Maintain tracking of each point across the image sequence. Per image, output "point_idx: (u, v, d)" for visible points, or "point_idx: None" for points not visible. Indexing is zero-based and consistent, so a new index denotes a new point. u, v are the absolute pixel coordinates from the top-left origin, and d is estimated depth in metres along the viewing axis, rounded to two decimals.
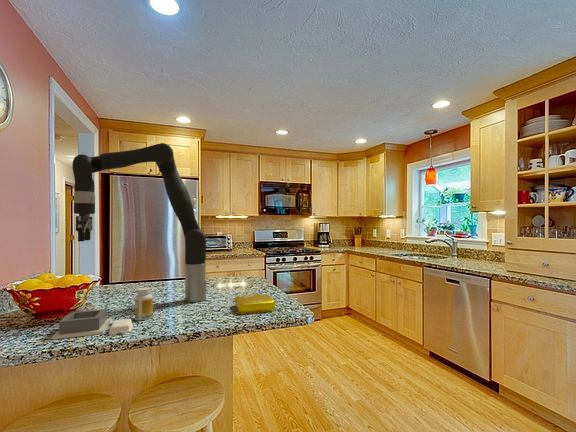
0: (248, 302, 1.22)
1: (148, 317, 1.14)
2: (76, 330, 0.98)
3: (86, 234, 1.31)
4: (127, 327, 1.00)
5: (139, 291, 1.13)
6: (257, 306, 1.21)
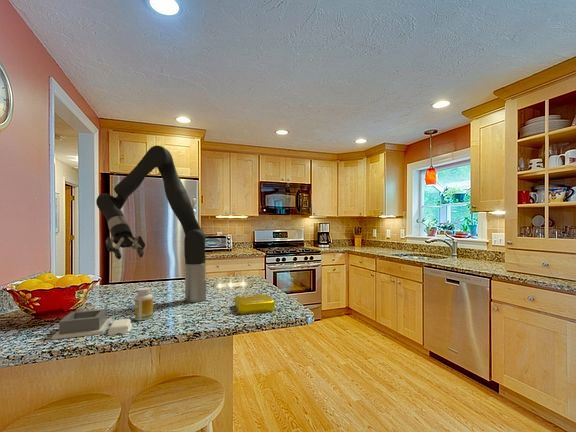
0: (248, 302, 1.22)
1: (148, 317, 1.14)
2: (76, 330, 0.98)
3: (138, 252, 1.28)
4: (126, 327, 1.00)
5: (139, 291, 1.13)
6: (257, 306, 1.21)
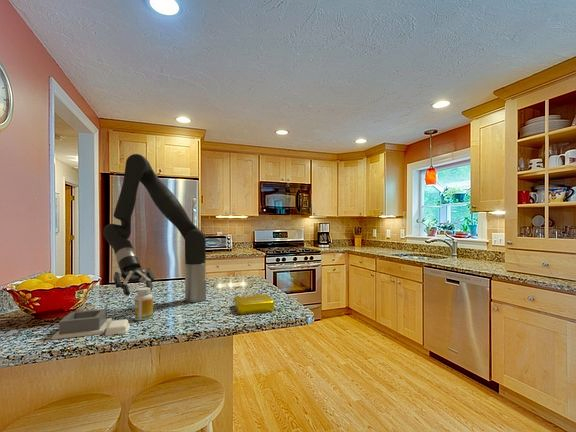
0: (247, 302, 1.22)
1: (148, 317, 1.14)
2: (76, 330, 0.98)
3: (147, 286, 1.22)
4: (124, 328, 1.00)
5: (139, 291, 1.13)
6: (256, 306, 1.21)
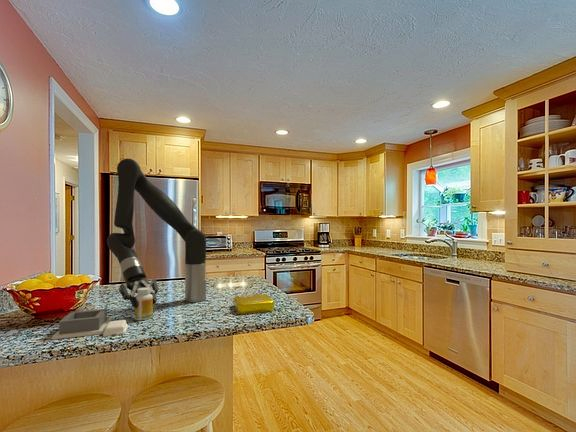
0: (247, 302, 1.22)
1: (148, 317, 1.14)
2: (76, 330, 0.98)
3: None
4: (122, 328, 0.99)
5: (139, 291, 1.13)
6: (256, 306, 1.21)
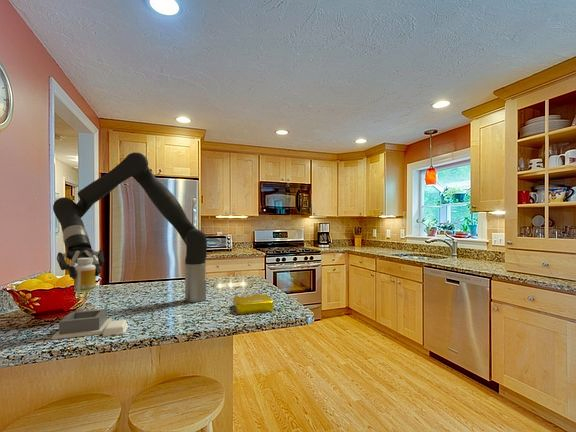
0: (247, 302, 1.22)
1: (88, 289, 1.02)
2: (76, 330, 0.98)
3: None
4: (121, 328, 0.99)
5: (78, 260, 1.02)
6: (255, 306, 1.21)
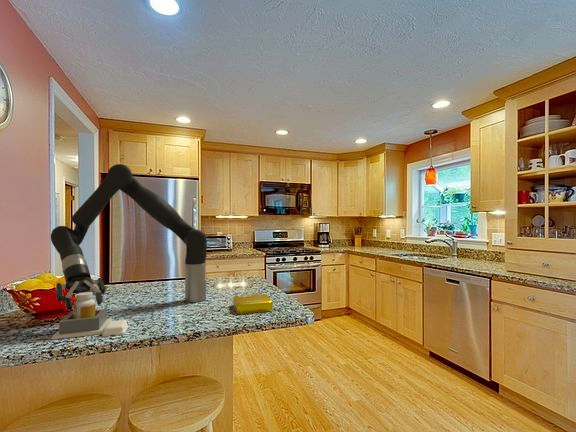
0: (246, 302, 1.22)
1: None
2: (76, 330, 0.98)
3: (96, 298, 1.07)
4: (121, 329, 0.99)
5: (78, 296, 1.02)
6: (255, 306, 1.21)
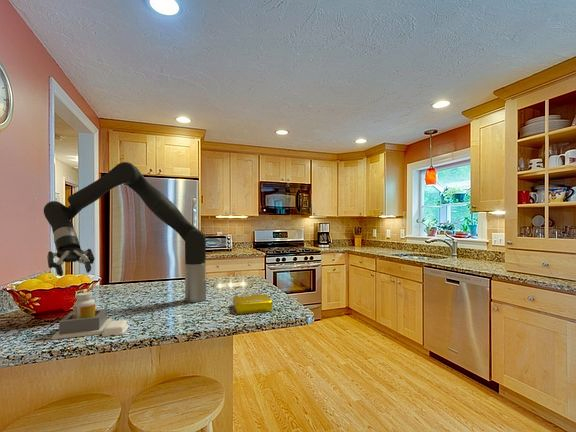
0: (246, 302, 1.22)
1: None
2: (76, 330, 0.98)
3: (85, 266, 1.16)
4: (120, 329, 0.99)
5: (78, 296, 1.02)
6: (254, 306, 1.21)
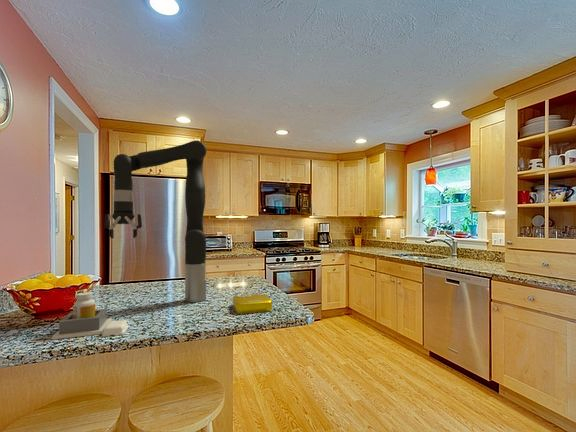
0: (245, 302, 1.22)
1: None
2: (76, 330, 0.98)
3: None
4: (120, 329, 0.99)
5: (78, 296, 1.02)
6: (254, 306, 1.21)
